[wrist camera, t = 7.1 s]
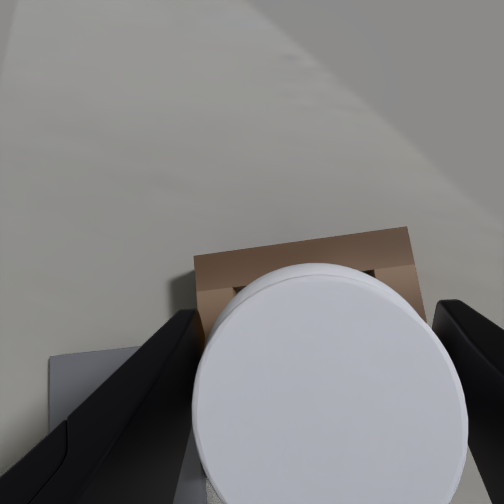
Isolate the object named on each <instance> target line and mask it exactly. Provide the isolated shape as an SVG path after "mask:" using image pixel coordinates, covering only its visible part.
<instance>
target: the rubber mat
mask: <svg viewBox="0 0 504 504" xmlns="http://www.w3.org/2000/svg"><path fill="white" fill-rule="evenodd" d="M140 347H141V346H139V347H130V348H121V349H112V350H103V351H93V352H84V353H75V354H66V355H57V356H50V391H49V433H50V432H51V431H52V430H53V429H55V428H56V427H57V426H58V425H59V424H60V423H61V422H62V421H63V420H67V416H68V415H69V414H70V413H72V412H73V411H74V410H75V409H76V408H77V407H78V406H79V405H80V404H81V403H82V402H83V401H84V400H85V399H86V398H87V397H88V396H89V395H91V394H92V393H93V392H94V391H95V390H96V389H97V388H98V387H99V386H100V385H101V384H102V383H103V382H104V381H105V380H106V379H107V378H108V377H109V376H111V375H112V374H113V373H114V372H115V371H116V370H117V369H118V368H119V367H120V366H121V365H122V364H123V363H124V362H125V361H126V360H127V359H128V358H129V357H131V356H132V355H133V354H134V353H135V352H136V351H137V350H138V349H139V348H140ZM173 504H207V496H206V482H205V471H204V469H203V466H202V463H201V460H200V458H199V454H198V451H197V447H196V443H195V438H194V434H193V426H192V427H191V431H190V435H189V439H188V443H187V447H186V452H185V456H184V460H183V464H182V468H181V472H180V476H179V480H178V484H177V489H176V493H175V497H174V501H173Z"/></svg>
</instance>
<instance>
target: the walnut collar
mask: <svg viewBox="0 0 504 504" xmlns="http://www.w3.org/2000/svg"><path fill="white" fill-rule="evenodd" d="M305 263H327V264H335V265H340V266H345V267H349V268H352V269H355V270H358V271H361V272H363V273H365V274H367V275H369V276H372V277H374V278H376V279H377V280H379V281H381V282H383V283H384V284H386V285H387V286H389V287H390V288H392V289H393V290H394V291H395V292H397V293H398V294H399V295H400V296H401V297H402V298H404V299H405V300H406V301H407V302H408V303H409V304H410V306H411V307H412V308H413V309H414V310H415V311H416V312H417V314H418V315H419V316H420V317H421V318H422V319H423V321H424V322H425V323H426V324H427V321H426V316H425V311H424V307H423V302H422V297H421V292H420V287H419V282H418V277H417V273H416V268H415V263H414V258H413V253H412V248H411V244H410V239H409V234H408V229H407V227H399V228H392V229H385V230H378V231H370V232H363V233H356V234H349V235H342V236H334V237H327V238H320V239H313V240H306V241H298V242H291V243H284V244H277V245H269V246H262V247H255V248H248V249H241V250H233V251H226V252H219V253H212V254H205V255H197V256H194V267H195V281H196V294H197V307H198V311H199V314H200V317H201V321H202V325H203V329H204V333H205V345H206V342H207V339H208V336H209V334H210V332H211V329H212V327H213V325H214V323H215V321H216V320H217V318H218V316H219V315H220V313H221V312H222V311H223V309H224V308H225V307H226V305H227V304H228V303H229V301H230V300H231V299H232V298H233V297H235V296H236V295H237V294H238V293H239V292H240V291H241V290H242V289H243V288H245V287H246V286H247V285H249V284H250V283H252V282H253V281H255V280H256V279H258V278H260V277H261V276H263V275H265V274H267V273H270V272H272V271H275V270H278V269H280V268H284V267H288V266H291V265H297V264H305ZM204 348H205V346H204Z"/></svg>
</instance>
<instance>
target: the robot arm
mask: <svg viewBox="0 0 504 504" xmlns="http://www.w3.org/2000/svg"><path fill="white" fill-rule="evenodd" d="M432 331H433V332H434V333H435V335H436V336H437V337H438V339H439V340H440V342H441V343H442V345H443V346H444V348H445V349H446V351H447V352H448V354H449V356H450V358H451V360H452V362H453V364H454V367H455V369H456V372H457V374H458V377H459V379H460V382H461V385H462V389H463V393H464V397H465V404H466V409H467V415H468V446H469V448H470V451H471V453H472V456H473V458H474V460H475V463H476V465H477V468H478V470H479V473H480V475H481V478H482V480H483V483H484V485H485V487H486V490H487V492H488V495H489V497H490V500H491V502H492V504H504V330H503V329H502V328H500V327H499V326H498V325H496V324H495V323H493V322H492V321H490V320H489V319H487V318H486V317H484V316H483V315H481V314H480V313H478V312H477V311H475V310H474V309H472V308H471V307H470V306H468V305H467V304H465V303H464V302H462V301H460V300H457V299H451V300H440V301H438V303H437V305H436V309H435V314H434V319H433V324H432ZM204 346H205V333H204V329H203V325H202V321H201V317H200V314H199V311H198V310H197V309H181V310H179V311H178V312H177V313H176V314H175V315H174V316H173V317H172V318H171V319H169V320H168V321H167V322H166V323H165V324H164V325H163V326H162V327H161V328H160V329H159V330H158V331H157V332H156V333H155V334H154V335H153V336H152V337H151V338H149V339H148V340H147V341H146V342H145V343H144V344H143V345H142V346H141V347H140V348H139V349H138V350H137V351H136V352H135V353H134V354H133V355H132V356H131V357H129V358H128V359H127V360H126V361H125V362H124V363H123V364H122V365H121V366H120V367H119V368H118V369H117V370H116V371H115V372H114V373H113V374H112V375H111V376H109V377H108V378H107V379H106V380H105V381H104V382H103V383H102V384H101V385H100V386H99V387H98V388H97V389H96V390H95V391H94V392H93V393H92V394H91V395H89V396H88V397H87V398H86V399H85V400H84V401H83V402H82V403H81V404H80V405H79V406H78V407H77V408H76V409H75V410H74V411H73V412H72V413H70V414H69V415H68V416H67V420H63V421H62V422H61V423H60V424H59V425H58V426H57V427H56V428H55V429H53V430H52V431H51V432H50V433H49V434H48V435H47V436H46V437H45V438H44V439H43V440H42V441H41V442H39V443H38V444H37V445H36V446H35V447H34V448H33V449H32V450H31V451H30V452H29V453H27V454H26V455H25V456H24V457H23V458H22V459H21V460H20V461H18V462H17V463H16V464H15V465H14V466H13V467H11V468H10V469H9V470H8V471H7V472H5V473H4V474H3V475H2V476H1V477H0V504H173V501H174V497H175V493H176V489H177V484H178V480H179V476H180V472H181V468H182V464H183V460H184V456H185V452H186V447H187V443H188V439H189V435H190V431H191V427H192V397H193V388H194V381H195V377H196V372H197V369H198V365H199V362H200V360H201V357H202V354H203V352H204Z"/></svg>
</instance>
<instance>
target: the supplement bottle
mask: <svg viewBox="0 0 504 504" xmlns="http://www.w3.org/2000/svg"><path fill="white" fill-rule="evenodd" d="M192 426H193V434H194V438H195V443H196V447H197V451H198V454H199V458H200V460H201V463H202V466H203V469H204V471H205V473H206V475H207V477H208V480H209V482H210V484H211V486H212V487H213V489H214V491H215V492H216V494H217V496H218V497H219V499H220V500H221V501H222V503H223V504H449V503H450V501H451V499H452V497H453V495H454V493H455V491H456V489H457V486H458V484H459V481H460V478H461V475H462V471H463V468H464V464H465V460H466V453H467V443H468V415H467V409H466V404H465V397H464V393H463V389H462V385H461V382H460V379H459V377H458V374H457V372H456V369H455V367H454V364H453V362H452V360H451V358H450V356H449V354H448V352H447V351H446V349H445V348H444V346H443V345H442V343H441V342H440V340H439V339H438V337H437V336H436V335H435V333H434V332H433V331H432V329H431V328H430V327H429V326H428V325H427V324H426V323H425V322H424V321H423V319H422V318H421V317H420V316H419V315H418V314H417V312H416V311H415V310H414V309H413V308H412V307H411V306H410V304H409V303H408V302H407V301H406V300H405V299H404V298H402V297H401V296H400V295H399V294H398V293H397V292H395V291H394V290H393V289H392V288H390V287H389V286H387V285H386V284H384V283H383V282H381V281H379V280H377V279H376V278H374V277H372V276H369V275H367V274H365V273H363V272H361V271H358V270H355V269H352V268H349V267H345V266H340V265H335V264H327V263H305V264H297V265H291V266H288V267H284V268H280V269H278V270H275V271H272V272H270V273H267V274H265V275H263V276H261V277H260V278H258V279H256V280H255V281H253V282H252V283H250V284H249V285H247V286H246V287H245V288H243V289H242V290H241V291H240V292H239V293H238V294H237V295H236V296H235V297H233V298H232V299H231V300H230V301H229V303H228V304H227V305H226V307H225V308H224V309H223V311H222V312H221V313H220V315H219V316H218V318H217V320H216V321H215V323H214V325H213V327H212V329H211V332H210V334H209V336H208V339H207V342H206V345H205V348H204V352H203V354H202V357H201V360H200V362H199V365H198V369H197V372H196V377H195V381H194V388H193V397H192Z"/></svg>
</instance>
